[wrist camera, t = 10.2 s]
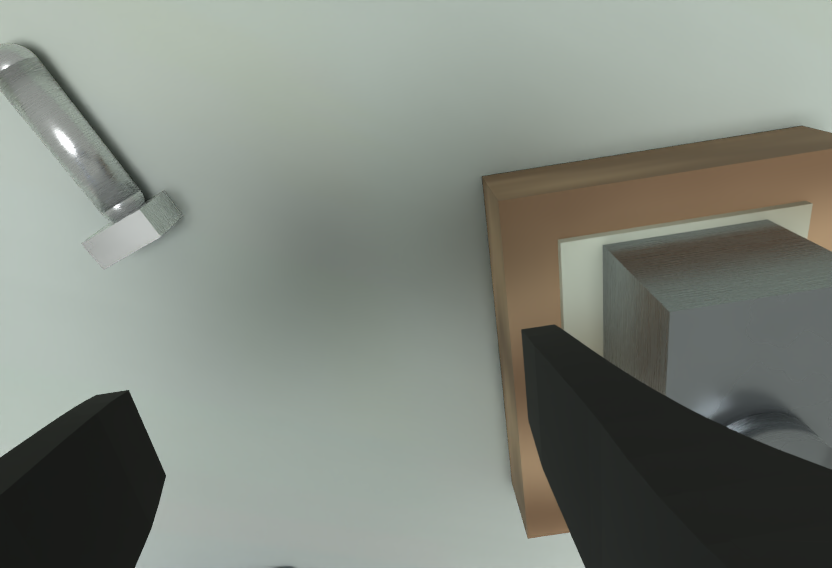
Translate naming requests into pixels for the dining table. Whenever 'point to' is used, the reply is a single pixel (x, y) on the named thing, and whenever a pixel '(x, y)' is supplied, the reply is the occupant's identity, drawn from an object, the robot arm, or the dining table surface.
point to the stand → (618, 222)
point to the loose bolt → (84, 159)
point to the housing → (729, 328)
